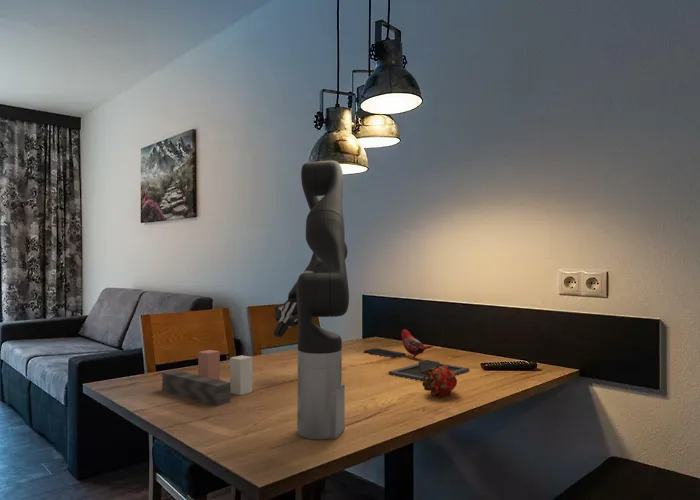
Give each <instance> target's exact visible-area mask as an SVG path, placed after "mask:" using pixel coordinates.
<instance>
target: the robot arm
mask: <svg viewBox="0 0 700 500" xmlns="http://www.w3.org/2000/svg"><path fill="white" fill-rule="evenodd" d="M300 171H301V172H300V174H301V175H300V179H301V180H300V181H301V186H302V190H303V194H304V197H305V199H306V202H307V206H308V208H309V210H310V211H309V212H308V215H306V220H305V240H306V241H305V242H306V243H307V245H308V247H309V248H310V250H311V251H312V256H311V258H310V261H309V263H308V265H307V266H306V267H305V269H304V271H303V272H302V273H300V275H299V276H298V279H296V282H295V283H294V285H293V287H292V288H291V289H290V291H289V293H288V294H287V295H288V296H287V300H286V301H284V303H283V305H281V306H277V305H276V306H275V307H274V315H275V316H274V317H275V321H276V322H277V326H276V327H275V329H274V331H273V335H274V336H275V337H276V338H282V337H283V336H284V335H285V334H286V332H287V330H288V329H290V328H291V327H293V328H294V327H297V386H296V387H297V391H296V392H297V395H296V396H297V400H296V401H297V407H296V408H297V413H296V415H297V417H296V418H297V421H296V422H297V424H296V425H297V435H298V436H300V437H301V438H304V439H308V440H328V439H333V440H335V439H337V438H338V437H339V436H340V435H341V434H342V432H344V430H345V427H346V426H345V420H346V419H345V413H346V412H345V411H346V410H345V409H346V407H345V404H346V403H345V401H346V400H345V396H346V395H345V393H346V392H345V391H346V389H345V386H346V385H345V384H344V383H343V381H342V380H343V378H342V377H343V376H342V375H343V374H342V373H343V372H342V365H343V363H342V362H343V353H342V351H343V349H342V348H343V344H342V343H343V341H342V337H341V335H339V334H338V333H335V332H332V331H330V330H326V329H324V328H322V327H320V326H319V325H318V324H316V322H315V321H314V320H313V319H314V318H333V317H335V318H337V317H342V316H344V315H345V314H346V313H347V311H348V310H349V304H350V292H349V291H350V289H349V280H348V272H347V266H346V265H347V264H346V259H347V257H348V247H347V244H346V242H345V220H344V210H343V209H344V208H343V193H344V192H343V190H344V189H343V187H344V174H343V173H344V172H343V168H342V166H341V164H340V163H339V162H338V161H336V160H320V161H309V162H305V163H304V164H302V166H301V170H300ZM320 197H322V198H320Z"/></svg>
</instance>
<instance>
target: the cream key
mask: <svg viewBox="0 0 700 500" xmlns="http://www.w3.org/2000/svg"><path fill="white" fill-rule="evenodd" d="M229 382H230V394H234V395H237V396H242V395H245V394H249V393H252V392H253V356H247V355H242V354H240V355H238V356H232V357H231V356H230V358H229Z"/></svg>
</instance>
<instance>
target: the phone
mask: <svg viewBox="0 0 700 500" xmlns="http://www.w3.org/2000/svg"><path fill="white" fill-rule="evenodd" d="M366 353H369V354H368V355H372V354H374V356H377V355H379V356H378V357H382V356H384V357H383V358H387V357H390V358H389V359H397V358H396V357H398V358H400V356H403V357H406V356H405V355H406V354H407V353H406V352H399V351H394V350H388V349H382V348H378V347H377V348H375V347H374V348H371V349H365V350H363V354H366Z"/></svg>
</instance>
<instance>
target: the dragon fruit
mask: <svg viewBox="0 0 700 500" xmlns="http://www.w3.org/2000/svg"><path fill="white" fill-rule="evenodd" d="M424 374H425V376H424V377H423V382H421V383H422V387H423V390H425V391H428V392H429V391H430V392H431V395H432V396H434V397H435V398H439V397H440V396H441V395H443V396H445V397H447V396H448V397H451V395H452V392H453V391H454V389H455V387H457V384H458V379H457V376H455V373H454V372H453V371H452V370H451V369H449V368H448V367H447V366H444V365H443V366H436V367H434V368H430V369H429V370H425V372H424Z"/></svg>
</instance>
